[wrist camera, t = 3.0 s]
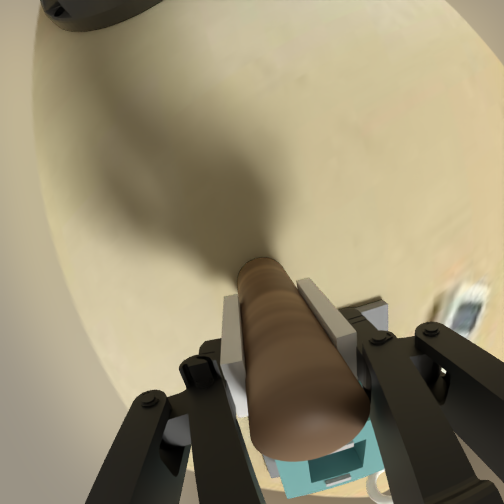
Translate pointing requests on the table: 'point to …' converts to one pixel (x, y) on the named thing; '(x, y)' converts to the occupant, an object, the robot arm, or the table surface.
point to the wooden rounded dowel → (293, 371)
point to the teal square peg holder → (333, 466)
